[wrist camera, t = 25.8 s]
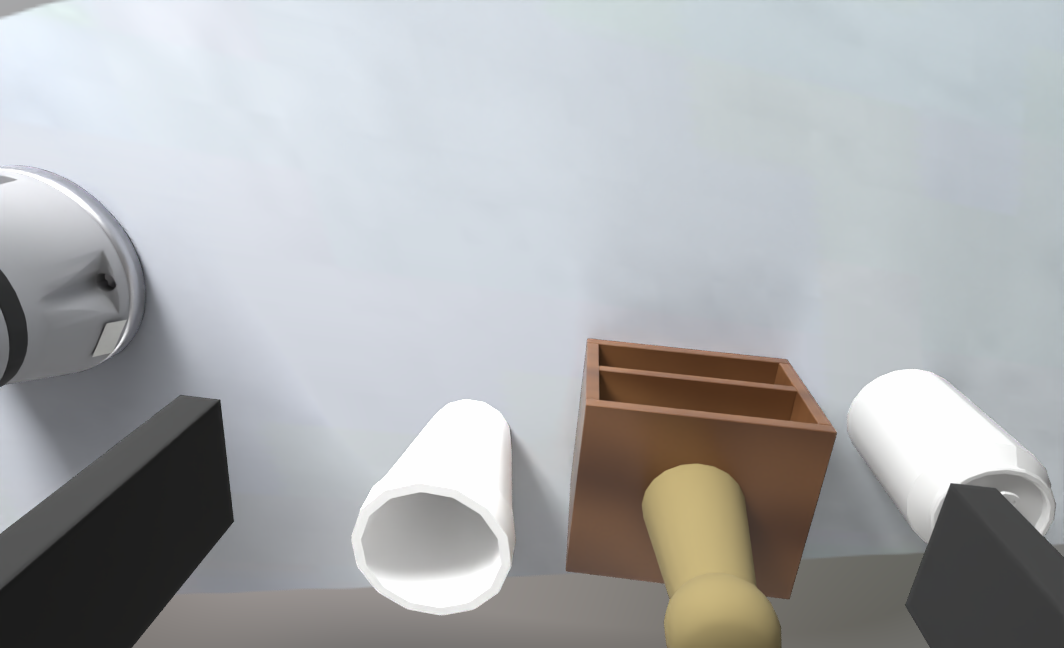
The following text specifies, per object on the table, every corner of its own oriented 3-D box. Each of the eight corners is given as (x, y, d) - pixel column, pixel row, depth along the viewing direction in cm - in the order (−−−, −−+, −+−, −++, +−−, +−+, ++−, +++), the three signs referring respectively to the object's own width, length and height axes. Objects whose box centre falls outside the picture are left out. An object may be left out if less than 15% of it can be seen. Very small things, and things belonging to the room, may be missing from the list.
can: (823, 438, 47) (894, 551, 36) (873, 349, 44) (967, 441, 33) (919, 470, 47) (1020, 591, 36) (975, 382, 44) (1103, 485, 33)
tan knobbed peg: (751, 466, 37) (811, 614, 27) (739, 551, 39) (790, 719, 29) (644, 460, 37) (663, 604, 27) (638, 545, 40) (654, 708, 29)
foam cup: (402, 382, 48) (338, 484, 36) (525, 378, 47) (501, 481, 35) (420, 489, 52) (367, 614, 40) (535, 487, 51) (516, 616, 39)
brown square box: (587, 338, 46) (585, 404, 37) (787, 358, 45) (837, 432, 36) (570, 480, 50) (565, 571, 41) (752, 501, 49) (789, 600, 40)
